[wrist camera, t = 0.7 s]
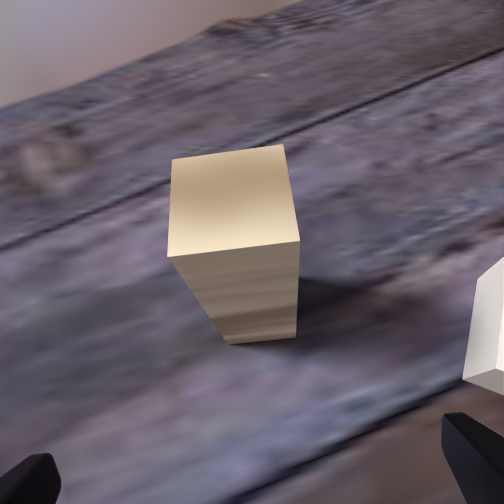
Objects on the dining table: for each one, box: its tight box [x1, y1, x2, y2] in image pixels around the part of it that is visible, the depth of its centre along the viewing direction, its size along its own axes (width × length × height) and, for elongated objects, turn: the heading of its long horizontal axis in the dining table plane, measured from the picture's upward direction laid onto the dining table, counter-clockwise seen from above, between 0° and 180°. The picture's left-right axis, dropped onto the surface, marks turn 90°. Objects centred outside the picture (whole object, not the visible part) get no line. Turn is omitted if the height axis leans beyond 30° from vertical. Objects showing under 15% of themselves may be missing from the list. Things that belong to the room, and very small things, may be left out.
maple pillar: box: [167, 144, 300, 345], centre depth 18 cm, size 4×4×12 cm
